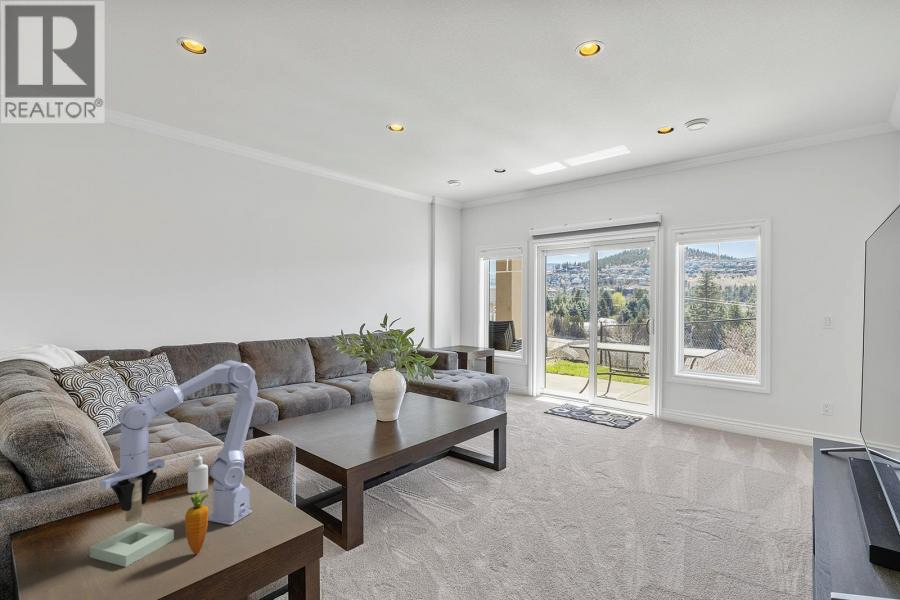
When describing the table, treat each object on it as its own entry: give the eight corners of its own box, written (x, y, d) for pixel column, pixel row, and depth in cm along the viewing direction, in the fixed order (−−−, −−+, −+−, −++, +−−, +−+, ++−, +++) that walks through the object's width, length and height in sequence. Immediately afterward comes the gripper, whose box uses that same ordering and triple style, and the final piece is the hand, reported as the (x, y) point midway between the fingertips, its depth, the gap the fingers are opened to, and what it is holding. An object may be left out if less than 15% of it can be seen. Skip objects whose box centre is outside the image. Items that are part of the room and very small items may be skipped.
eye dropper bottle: (201, 494, 136) (202, 456, 136) (185, 493, 137) (185, 455, 137) (210, 488, 141) (210, 451, 141) (194, 487, 141) (194, 451, 141)
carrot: (192, 548, 106) (193, 487, 107) (212, 548, 106) (213, 488, 106) (179, 560, 101) (180, 496, 102) (200, 560, 101) (201, 497, 101)
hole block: (173, 539, 110) (173, 530, 110) (125, 567, 99) (126, 556, 99) (139, 531, 114) (140, 522, 114) (89, 557, 102) (90, 546, 102)
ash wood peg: (144, 516, 107) (145, 478, 107) (131, 522, 104) (132, 483, 104) (135, 514, 108) (135, 476, 108) (122, 520, 105) (122, 481, 105)
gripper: (151, 441, 115) (150, 492, 114) (91, 459, 101) (90, 517, 101) (170, 444, 112) (170, 495, 112) (112, 463, 99) (111, 522, 98)
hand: (133, 506), depth 106 cm, fingers closed on ash wood peg, 3 cm apart
